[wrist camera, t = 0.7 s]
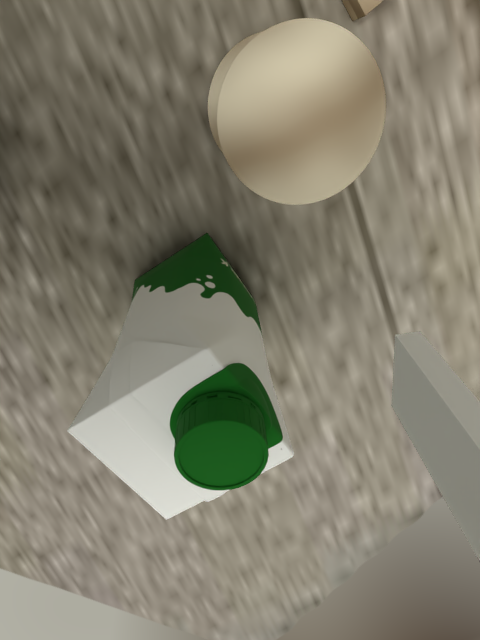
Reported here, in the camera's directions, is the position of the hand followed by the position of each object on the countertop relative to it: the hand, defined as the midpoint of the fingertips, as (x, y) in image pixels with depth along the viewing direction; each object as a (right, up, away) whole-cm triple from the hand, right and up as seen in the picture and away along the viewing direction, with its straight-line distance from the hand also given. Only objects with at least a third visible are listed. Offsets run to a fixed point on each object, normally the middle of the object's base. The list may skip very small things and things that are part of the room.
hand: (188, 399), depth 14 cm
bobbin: (+4, +17, +17) cm, 24 cm away
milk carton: (-2, +5, +23) cm, 24 cm away
